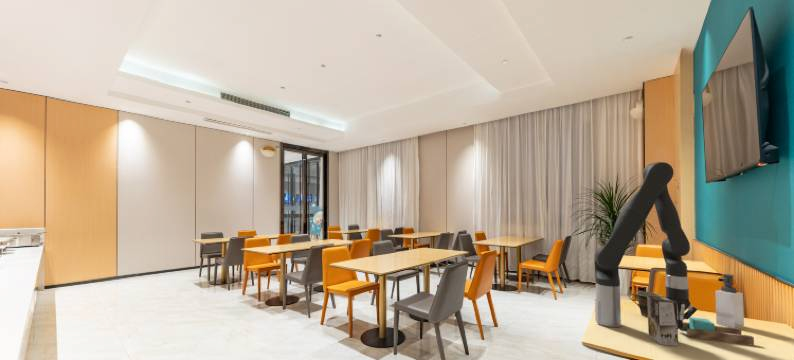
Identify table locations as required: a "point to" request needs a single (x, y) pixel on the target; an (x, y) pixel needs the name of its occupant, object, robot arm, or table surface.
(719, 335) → the chute
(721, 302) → the soap dispenser
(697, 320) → the block
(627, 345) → the table surface
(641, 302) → the ceramic cup
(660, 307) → the coffee box
